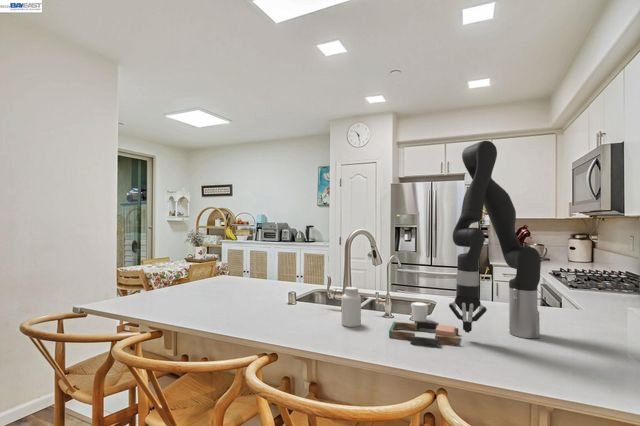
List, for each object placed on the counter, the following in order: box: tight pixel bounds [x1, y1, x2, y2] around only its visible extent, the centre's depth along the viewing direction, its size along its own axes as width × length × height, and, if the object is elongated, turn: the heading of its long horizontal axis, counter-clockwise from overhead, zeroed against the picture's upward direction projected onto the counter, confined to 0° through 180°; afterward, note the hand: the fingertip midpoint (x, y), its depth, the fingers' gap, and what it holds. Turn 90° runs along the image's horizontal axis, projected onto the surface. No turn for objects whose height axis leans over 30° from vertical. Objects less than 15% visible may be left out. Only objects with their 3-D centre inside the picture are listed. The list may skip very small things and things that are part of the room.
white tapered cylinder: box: [410, 301, 429, 322], centre depth 148 cm, size 7×7×7 cm
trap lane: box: [388, 321, 461, 348], centre depth 127 cm, size 24×20×2 cm
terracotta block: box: [435, 323, 457, 337], centre depth 125 cm, size 6×7×4 cm
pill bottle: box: [341, 286, 362, 328], centre depth 142 cm, size 8×8×15 cm
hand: (467, 331), depth 123 cm, fingers closed
